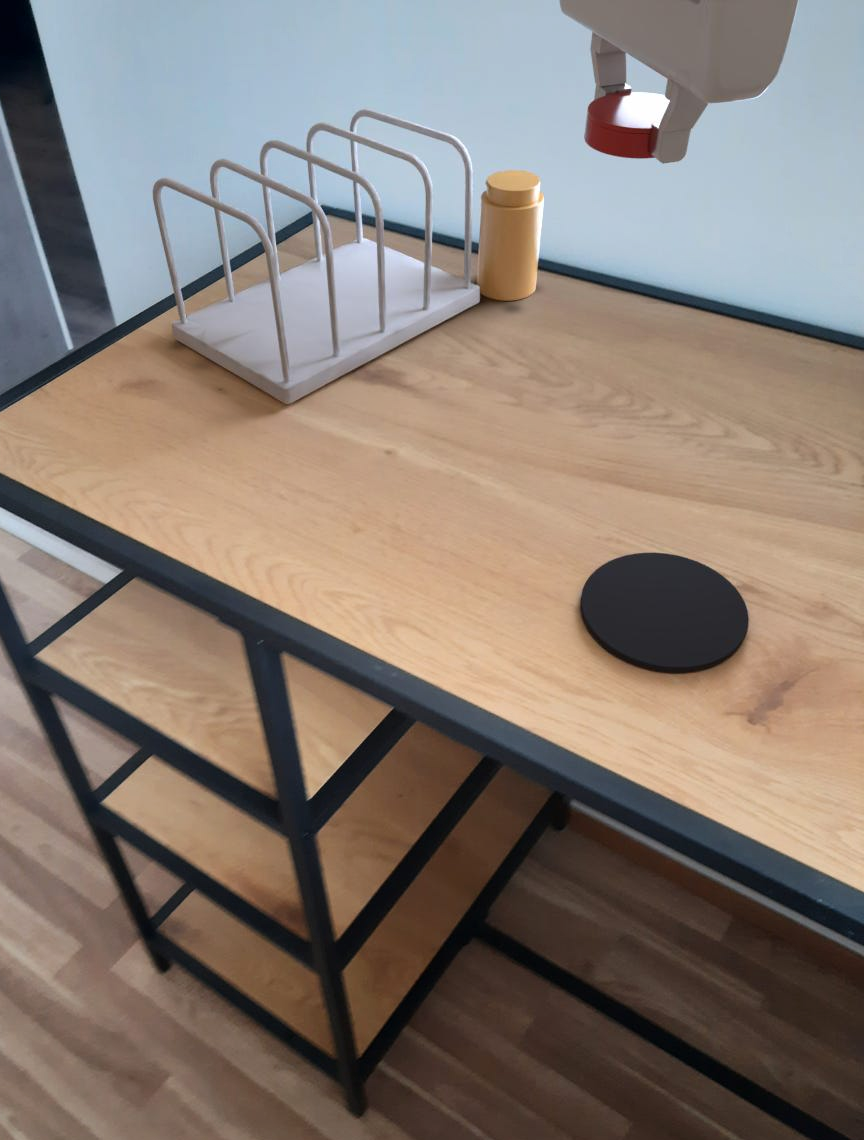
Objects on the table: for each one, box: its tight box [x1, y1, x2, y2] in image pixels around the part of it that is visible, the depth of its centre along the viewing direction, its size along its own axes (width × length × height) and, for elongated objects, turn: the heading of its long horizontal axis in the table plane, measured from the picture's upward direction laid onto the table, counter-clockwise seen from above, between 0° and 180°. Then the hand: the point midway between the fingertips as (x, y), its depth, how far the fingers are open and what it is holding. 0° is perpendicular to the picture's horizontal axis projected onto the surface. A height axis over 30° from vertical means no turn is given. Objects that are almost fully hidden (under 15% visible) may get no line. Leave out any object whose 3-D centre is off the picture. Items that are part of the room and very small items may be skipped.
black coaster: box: [579, 552, 750, 674], centre depth 63 cm, size 11×11×1 cm
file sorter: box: [152, 108, 481, 405], centre depth 86 cm, size 25×17×16 cm
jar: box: [476, 169, 545, 302], centre depth 92 cm, size 6×6×10 cm
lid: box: [583, 91, 670, 160], centre depth 58 cm, size 6×6×2 cm
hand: (636, 137), depth 58 cm, fingers closed on lid, 6 cm apart
